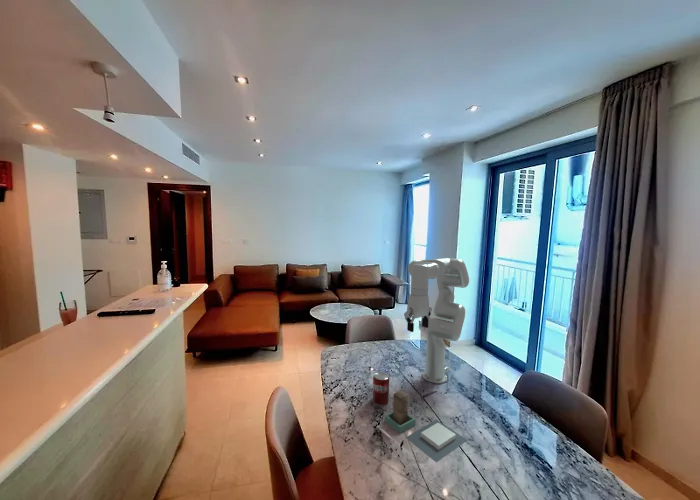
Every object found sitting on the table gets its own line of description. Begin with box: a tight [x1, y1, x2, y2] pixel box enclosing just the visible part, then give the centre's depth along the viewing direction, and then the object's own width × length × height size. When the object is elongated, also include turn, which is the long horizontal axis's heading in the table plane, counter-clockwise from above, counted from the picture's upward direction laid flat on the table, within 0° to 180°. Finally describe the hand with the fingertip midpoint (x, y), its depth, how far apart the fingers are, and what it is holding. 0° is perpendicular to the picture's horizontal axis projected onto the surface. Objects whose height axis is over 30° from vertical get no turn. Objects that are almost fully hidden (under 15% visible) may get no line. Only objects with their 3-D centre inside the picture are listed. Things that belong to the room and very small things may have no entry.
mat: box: [405, 419, 468, 463], centre depth 109 cm, size 18×14×1 cm
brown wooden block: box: [392, 390, 409, 425], centre depth 117 cm, size 4×4×12 cm
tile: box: [421, 423, 456, 450], centre depth 109 cm, size 2×8×10 cm
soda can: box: [372, 372, 390, 407], centre depth 132 cm, size 7×7×12 cm
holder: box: [384, 411, 416, 434], centre depth 117 cm, size 9×9×3 cm
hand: (417, 329), depth 132 cm, fingers open, 9 cm apart
